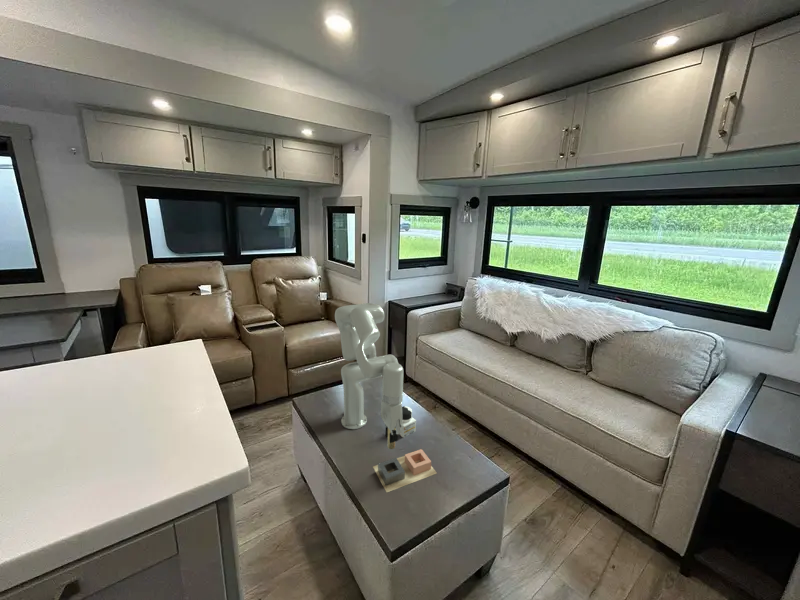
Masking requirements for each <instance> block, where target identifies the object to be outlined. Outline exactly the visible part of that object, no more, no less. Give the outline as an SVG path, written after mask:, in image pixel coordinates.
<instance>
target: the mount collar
mask: <svg viewBox="0 0 800 600" xmlns="http://www.w3.org/2000/svg"><path fill="white" fill-rule="evenodd" d="M397 458H398V457H393V458H390V459H388V460H385V461H381V462H379V463H377V465H378V472H379V474H380V476H381V478H382V479H383V481H384V483H385V485H389V484H392V483H394V482H397V481H400V480H403V479H405V471H404V469H403V468H402V466H401V465H400V463H399V461H398V460H397ZM393 469H394V470H395V471H393V472H390V473H388V472H387V471H390V470H393Z"/></svg>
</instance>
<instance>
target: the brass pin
mask: <svg viewBox="0 0 800 600" xmlns="http://www.w3.org/2000/svg"><path fill="white" fill-rule="evenodd" d="M394 430H396V428H394ZM394 430H393V431H394ZM390 433H391V430H389V429H388V437H387V446H386V447H387V449H389V450H393V449H395V448H396V442H393V443H390V442H389V439H390Z"/></svg>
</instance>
